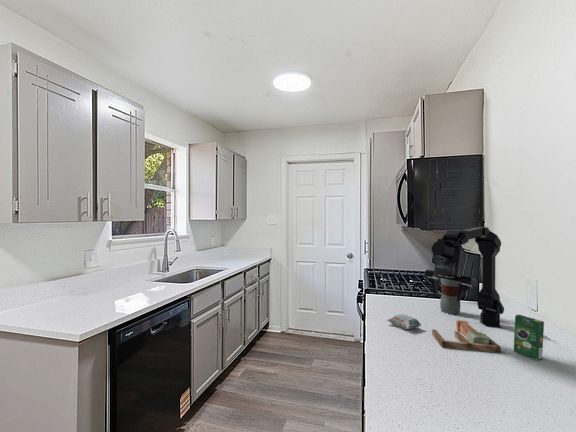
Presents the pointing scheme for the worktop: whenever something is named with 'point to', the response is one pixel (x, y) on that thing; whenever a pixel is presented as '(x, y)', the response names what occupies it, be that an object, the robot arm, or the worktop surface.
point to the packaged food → (404, 321)
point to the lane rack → (466, 343)
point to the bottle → (449, 296)
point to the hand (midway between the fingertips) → (446, 299)
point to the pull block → (471, 333)
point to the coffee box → (528, 336)
